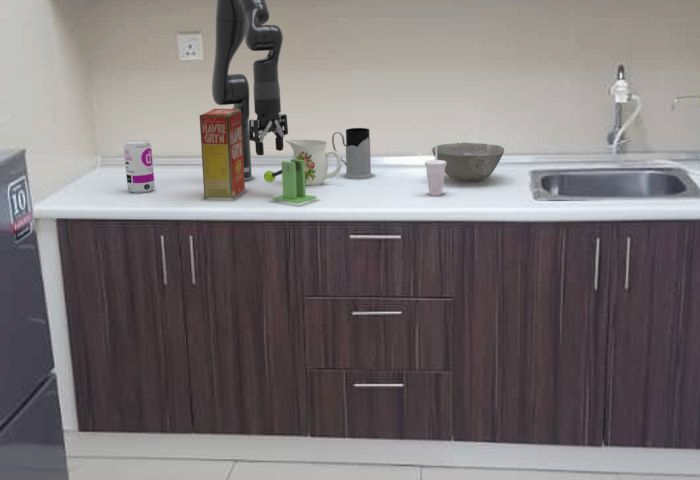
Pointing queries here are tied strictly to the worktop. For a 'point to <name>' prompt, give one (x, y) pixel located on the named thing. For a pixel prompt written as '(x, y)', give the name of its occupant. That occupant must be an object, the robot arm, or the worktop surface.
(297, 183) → the green crank stand
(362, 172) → the glass holder
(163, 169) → the worktop surface
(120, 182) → the worktop surface
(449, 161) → the ceramic bowl
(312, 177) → the pitcher
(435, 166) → the smoothie
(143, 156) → the supplement can
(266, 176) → the switch lever
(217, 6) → the robot arm
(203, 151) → the food packaging
